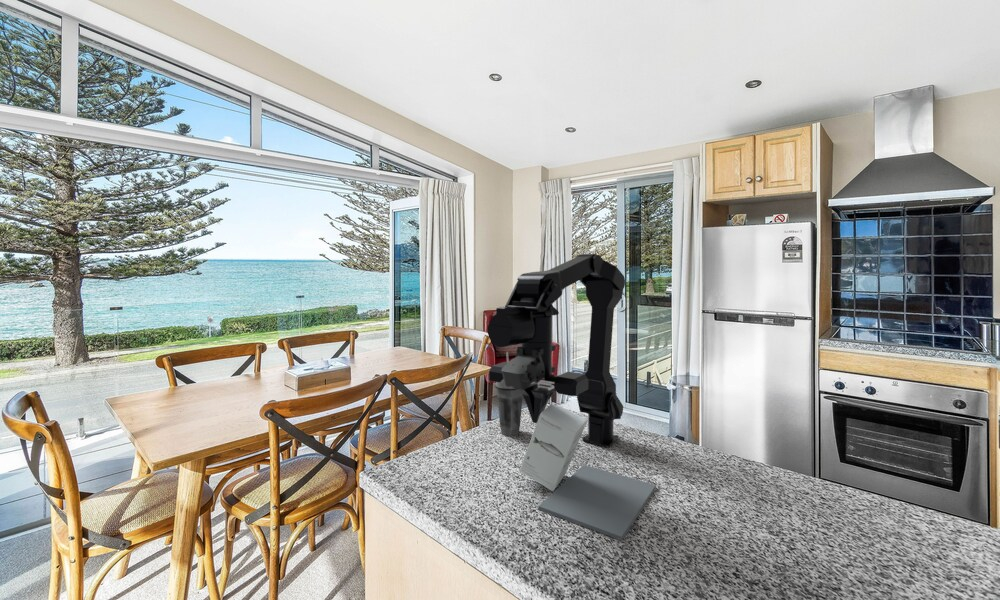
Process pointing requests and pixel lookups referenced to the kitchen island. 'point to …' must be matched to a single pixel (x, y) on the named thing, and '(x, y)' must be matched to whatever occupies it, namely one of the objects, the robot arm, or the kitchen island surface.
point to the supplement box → (552, 445)
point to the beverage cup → (509, 407)
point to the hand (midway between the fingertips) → (535, 422)
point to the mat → (599, 501)
